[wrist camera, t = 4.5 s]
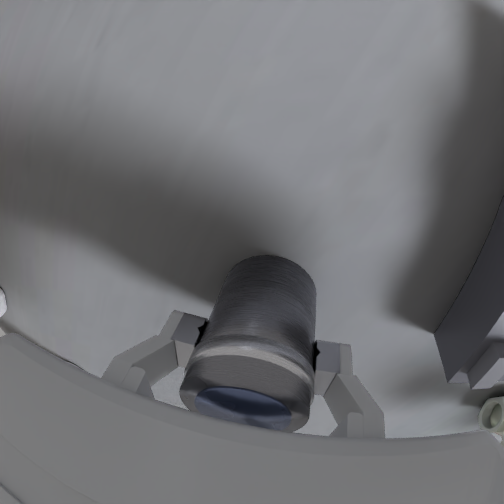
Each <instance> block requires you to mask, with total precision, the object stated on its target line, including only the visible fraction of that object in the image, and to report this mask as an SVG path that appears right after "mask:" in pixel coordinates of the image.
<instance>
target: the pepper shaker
mask: <svg viewBox="0 0 504 504" xmlns="http://www.w3.org/2000/svg"><path fill="white" fill-rule="evenodd" d="M6 309H7V305H6V300H5V294H4V292H3V290H2V289H1V288H0V317H1V316H2V315H3V314H4V313H5V312H6Z"/></svg>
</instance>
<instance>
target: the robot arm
mask: <svg viewBox="0 0 504 504" xmlns="http://www.w3.org/2000/svg"><path fill="white" fill-rule="evenodd" d="M207 323H208V319H207V318H203V317H200V316H196V315H192V314H188V313H184V312H181V311H177V310H174V311H173V312H172V313H171V315H170V317H169V319H168V320H167V322H166V324H165V326H164V327H163V329H162V331H161V333H160V335H159V336H157V335H155V336H153V337H151V338H150V339H148V340H146V341H144V342H142V343H140V344H138V345H136V346H134V347H133V348H131V349H129V350H127V351H125V352H123V353H121V354H119V355H117V356H115V357H114V358H113V360H112V361H111V363H110V365H109V366H108V368H107V370H106V371H105V373H104V374H103V376H102V378H99V377H97V376H95V375H93V374H91V373H88V372H86V371H84V370H82V369H80V368H78V367H76V366H74V365H72V364H70V363H68V362H66V361H64V360H62V359H60V358H59V357H57V356H55V355H53V354H51V353H49V352H48V351H46V350H44V349H42V348H41V347H39V346H37V345H35V344H34V343H32V342H30V341H29V340H27V339H25V338H24V337H22V336H21V335H19V334H17V333H10V334H7V335H4V336H2V337H0V504H504V447H503V446H502V445H501V444H500V443H499V441H498V440H497V439H496V438H495V437H494V436H493V435H492V434H491V433H490V432H489V431H487V430H476V431H470V432H464V433H457V434H449V435H440V436H429V437H415V438H385V426H384V413H383V412H382V410H381V409H380V408H379V406H378V405H377V404H376V402H375V401H374V400H373V398H372V397H371V395H370V394H369V393H368V391H367V390H366V389H365V387H364V386H363V385H362V383H361V382H360V380H359V379H358V378H357V376H355V375H353V369H352V352H351V346H350V345H349V344H342V343H335V342H328V341H321V340H316V341H315V344H314V362H313V370H314V373H315V388H314V394H315V395H321V396H323V397H324V399H325V401H326V403H327V405H328V407H329V409H330V411H331V412H332V414H333V416H334V418H335V420H336V422H337V424H338V427H337V428H336V429H335V430H334V431H333V432H332V433H331V434H330V435H329V436H319V435H310V434H301V433H293V432H286V431H279V430H273V429H267V428H262V427H256V426H251V425H246V424H241V423H237V422H232V421H228V420H224V419H219V418H215V417H211V416H207V415H204V414H200V413H196V412H193V411H189V410H186V409H183V408H179V407H176V406H173V405H170V404H167V403H164V402H161V401H158V400H155V398H154V396H153V393H152V390H151V386H153V385H154V384H155V383H157V382H158V381H159V380H161V379H162V378H164V377H165V376H166V375H168V374H169V373H170V372H172V371H173V370H174V369H176V368H177V367H178V366H180V367H184V368H186V365H187V363H188V361H189V358H190V356H191V354H192V352H193V350H194V348H195V347H196V346H197V345H198V344H199V342H200V339H201V337H202V334H203V332H204V330H205V327H206V325H207Z"/></svg>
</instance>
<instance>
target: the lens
mask: <svg viewBox="0 0 504 504" xmlns="http://www.w3.org/2000/svg"><path fill="white" fill-rule="evenodd" d="M315 321H316V288H315V285H314V283H313V281H312V279H311V277H310V276H309V275H308V273H307V272H306V271H305V270H304V269H302V268H301V267H300V266H298V265H297V264H295V263H294V262H292V261H290V260H287V259H284V258H281V257H276V256H256V257H251V258H248V259H245V260H243V261H241V262H240V263H238V264H237V265H235V266H234V267H233V268H232V270H231V271H230V272H229V274H228V276H227V278H226V280H225V282H224V285H223V287H222V290H221V292H220V294H219V297H218V299H217V301H216V304H215V306H214V308H213V311H212V313H211V315H210V318H209V320H208V323H207V325H206V327H205V330H204V332H203V334H202V337H201V339H200V342H199V344H198V345H197V346H196V347H195V348H194V350H193V352H192V354H191V356H190V358H189V361H188V363H187V365H186V368H185V371H184V380H183V382H182V385H181V387H180V391H179V392H180V397H181V400H182V402H183V403H184V404H185V406H186V407H187V408H188V409H189V410H190V411H193V412H196V413H200V414H204V415H207V416H211V417H215V418H219V419H224V420H228V421H232V422H237V423H241V424H246V425H251V426H256V427H262V428H267V429H273V430H279V431H286V432H293V431H296V430H298V429H300V428H302V427H303V426H304V425H305V424H306V423H307V421H308V419H309V414H310V405H311V404H312V402H313V399H314V388H315V373H314V370H313V362H314V344H315Z"/></svg>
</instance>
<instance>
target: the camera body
mask: <svg viewBox="0 0 504 504" xmlns="http://www.w3.org/2000/svg"><path fill="white" fill-rule="evenodd" d="M434 337H435V340H436V343H437V346H438V350H439V353H440V357H441V360H442V364H443V367H444V371H445V375H446V379H447V383H469V384H470V387H471V389H485V388H491V387H492V386H493V385H494V384H495V383H496V382H497V381H504V196H503V199H502V202H501V205H500V208H499V210H498V213H497V215H496V218H495V221H494V223H493V226H492V228H491V230H490V233H489V235H488V237H487V240H486V242H485V244H484V246H483V249H482V251H481V253H480V255H479V257H478V259H477V261H476V263H475V265H474V267H473V269H472V271H471V273H470V275H469V277H468V279H467V281H466V283H465V284H464V286H463V288H462V290H461V292H460V293H459V295H458V297H457V299H456V300H455V302H454V304H453V305H452V307H451V309H450V310H449V312H448V314H447V315H446V317H445V318H444V320H443V322H442V323H441V325H440V326H439V328H438V329H437V331H436V332H435V334H434Z"/></svg>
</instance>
